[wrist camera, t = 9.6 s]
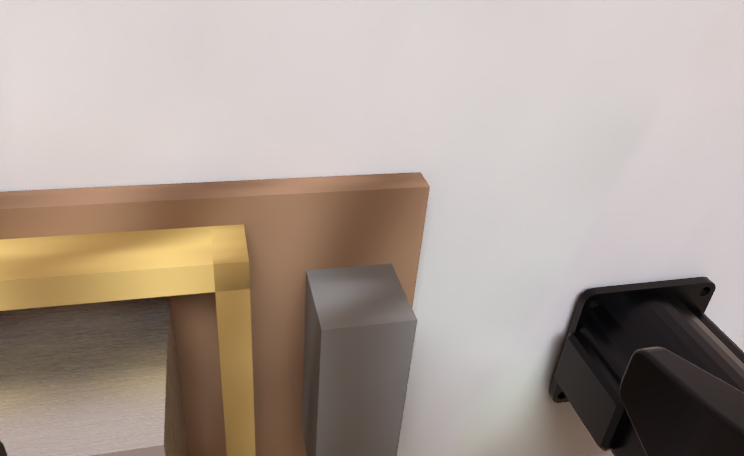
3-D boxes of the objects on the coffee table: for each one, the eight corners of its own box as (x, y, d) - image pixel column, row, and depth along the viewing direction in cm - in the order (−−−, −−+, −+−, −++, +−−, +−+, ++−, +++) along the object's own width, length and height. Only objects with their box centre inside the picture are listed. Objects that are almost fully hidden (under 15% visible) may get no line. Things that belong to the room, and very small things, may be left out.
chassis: (420, 172, 21) (462, 237, 18) (383, 442, 29) (409, 522, 26) (-212, 201, 17) (-306, 294, 14) (-61, 511, 25) (-98, 618, 21)
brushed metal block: (169, 293, 20) (163, 444, 16) (187, 436, 24) (187, 593, 19) (-3, 308, 19) (-67, 478, 14) (45, 456, 23) (7, 630, 18)
